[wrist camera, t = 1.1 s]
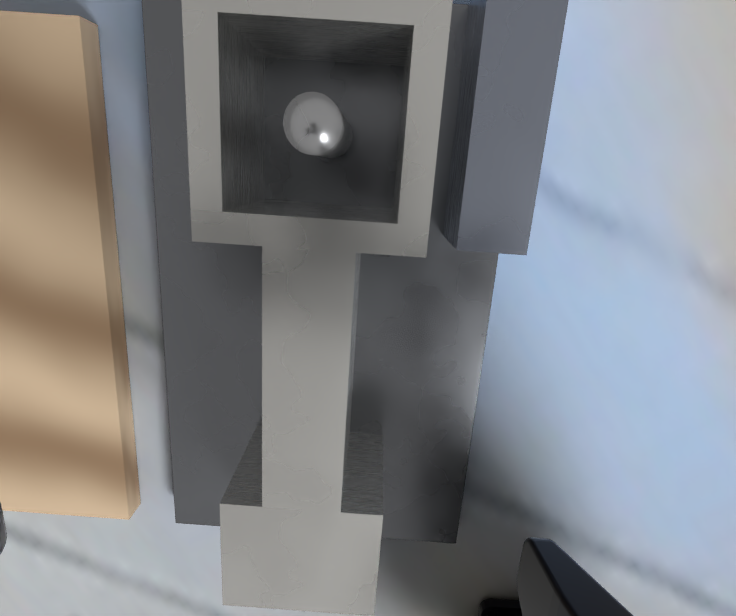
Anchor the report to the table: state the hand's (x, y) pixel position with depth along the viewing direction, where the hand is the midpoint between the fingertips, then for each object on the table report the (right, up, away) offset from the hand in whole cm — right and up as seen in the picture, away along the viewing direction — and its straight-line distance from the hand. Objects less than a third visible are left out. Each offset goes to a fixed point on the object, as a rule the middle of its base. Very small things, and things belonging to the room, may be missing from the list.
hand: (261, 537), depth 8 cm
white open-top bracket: (0, +4, +9) cm, 10 cm away
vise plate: (0, +4, +10) cm, 11 cm away
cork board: (-14, +5, +10) cm, 18 cm away
